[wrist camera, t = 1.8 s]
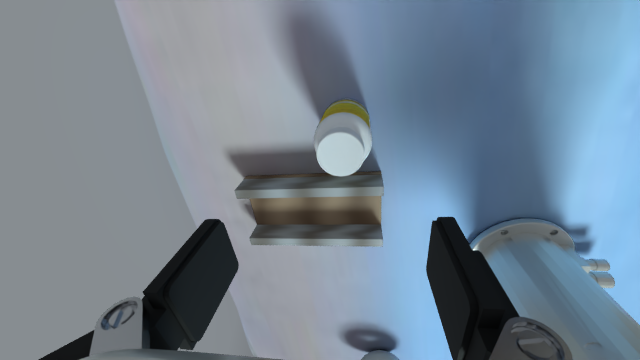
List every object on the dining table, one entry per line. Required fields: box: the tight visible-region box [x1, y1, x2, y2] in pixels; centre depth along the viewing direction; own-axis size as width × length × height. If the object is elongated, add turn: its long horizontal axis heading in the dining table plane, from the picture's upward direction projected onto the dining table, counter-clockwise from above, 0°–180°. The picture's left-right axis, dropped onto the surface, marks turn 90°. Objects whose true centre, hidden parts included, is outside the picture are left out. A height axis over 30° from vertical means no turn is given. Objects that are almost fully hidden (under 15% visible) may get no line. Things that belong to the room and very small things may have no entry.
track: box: [235, 171, 384, 247], centre depth 33 cm, size 18×9×4 cm, turn 96°
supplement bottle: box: [314, 99, 372, 176], centre depth 24 cm, size 5×5×10 cm
